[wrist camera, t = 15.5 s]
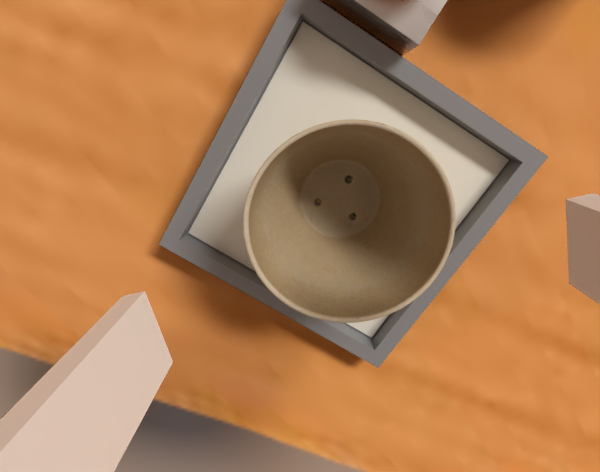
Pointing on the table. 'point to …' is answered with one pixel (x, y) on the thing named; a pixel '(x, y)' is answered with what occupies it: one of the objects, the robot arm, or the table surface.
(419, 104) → the tray
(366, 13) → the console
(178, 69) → the table surface
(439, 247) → the flower pot
